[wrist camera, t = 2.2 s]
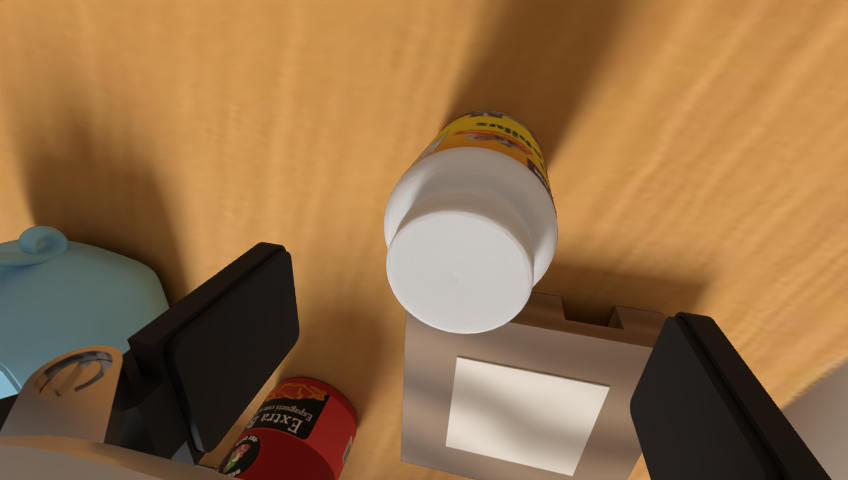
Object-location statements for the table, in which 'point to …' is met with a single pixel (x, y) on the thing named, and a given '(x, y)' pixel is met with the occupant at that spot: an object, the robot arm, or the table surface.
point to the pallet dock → (527, 395)
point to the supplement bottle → (471, 225)
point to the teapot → (67, 301)
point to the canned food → (295, 435)
